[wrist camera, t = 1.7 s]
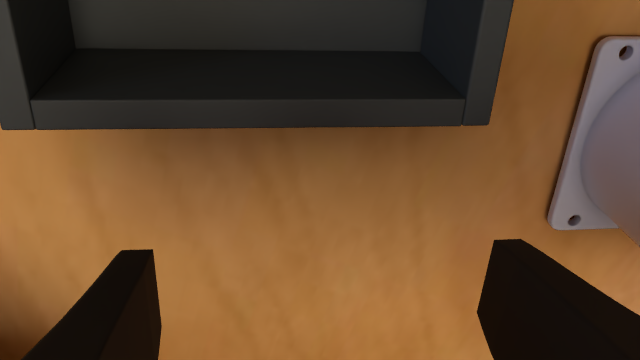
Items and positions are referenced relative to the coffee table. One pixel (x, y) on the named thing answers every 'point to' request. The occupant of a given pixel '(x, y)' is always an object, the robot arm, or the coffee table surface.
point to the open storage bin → (249, 63)
